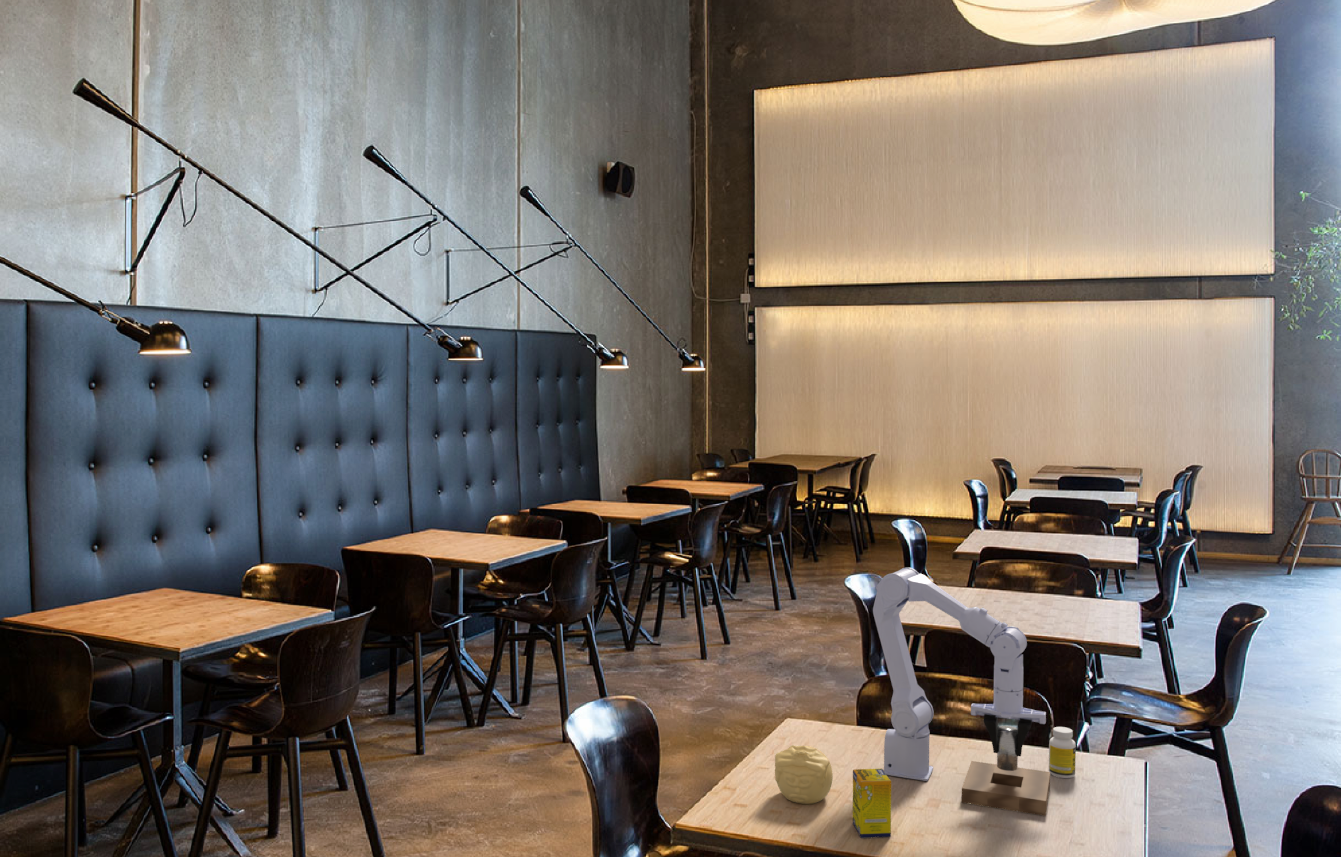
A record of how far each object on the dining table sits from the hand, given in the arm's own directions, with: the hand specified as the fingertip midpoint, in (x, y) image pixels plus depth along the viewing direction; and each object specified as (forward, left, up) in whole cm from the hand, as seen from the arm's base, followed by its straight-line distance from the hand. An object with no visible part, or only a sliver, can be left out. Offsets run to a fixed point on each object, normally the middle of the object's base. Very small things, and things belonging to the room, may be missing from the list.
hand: (1007, 753), depth 209 cm
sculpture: (-38, -18, -9) cm, 43 cm away
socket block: (0, 0, -9) cm, 9 cm away
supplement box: (-22, -28, -9) cm, 37 cm away
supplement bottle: (+10, +16, -9) cm, 21 cm away
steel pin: (0, 0, -3) cm, 3 cm away
